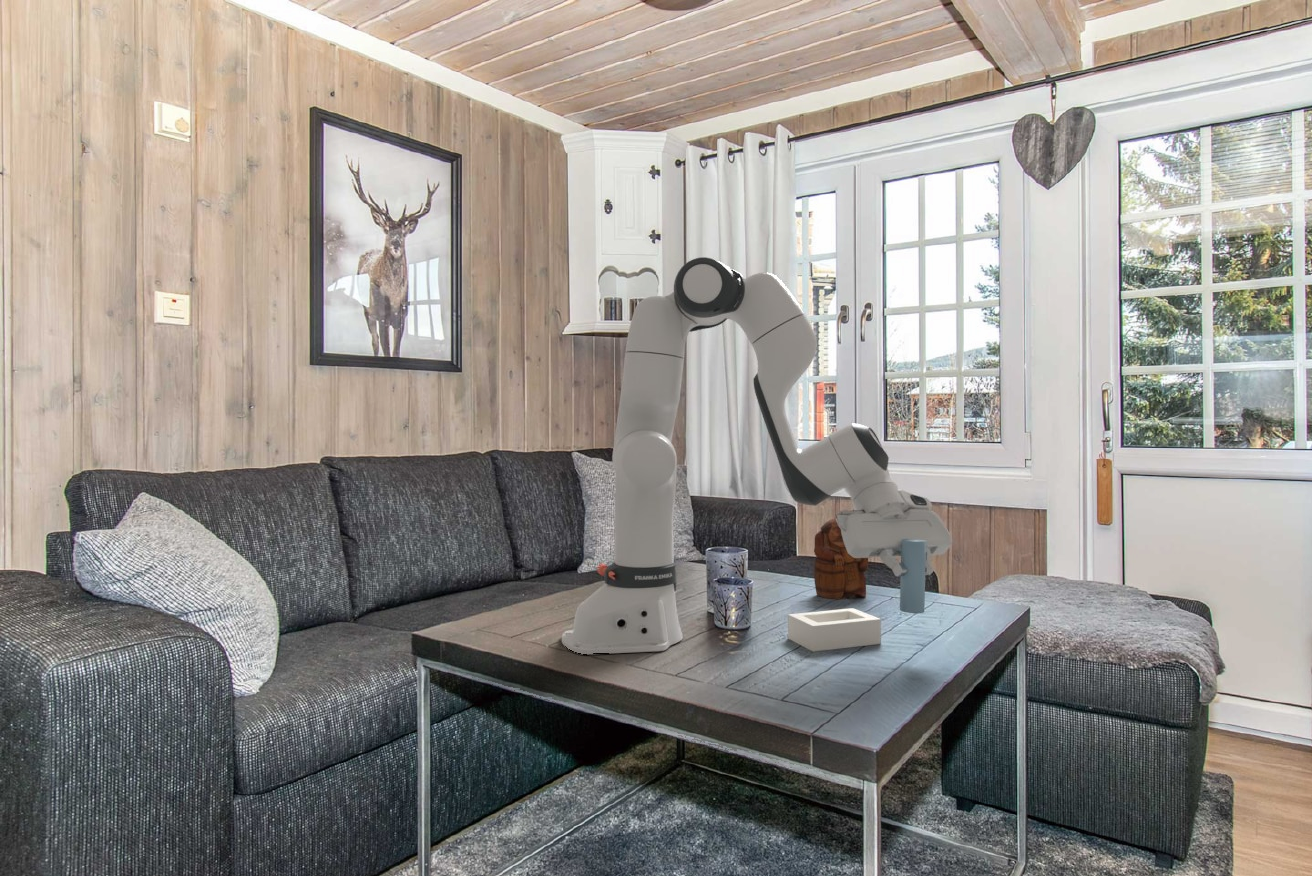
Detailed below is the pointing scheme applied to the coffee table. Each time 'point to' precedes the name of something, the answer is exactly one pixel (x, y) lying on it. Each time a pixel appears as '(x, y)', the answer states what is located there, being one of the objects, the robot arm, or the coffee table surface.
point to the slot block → (834, 629)
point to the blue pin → (913, 576)
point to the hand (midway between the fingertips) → (915, 573)
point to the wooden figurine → (837, 566)
